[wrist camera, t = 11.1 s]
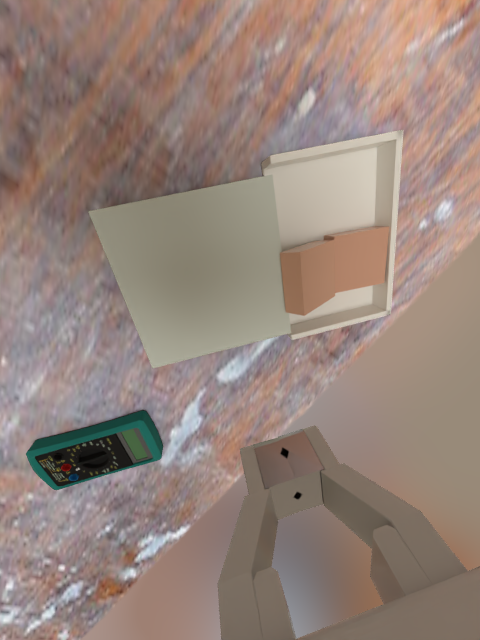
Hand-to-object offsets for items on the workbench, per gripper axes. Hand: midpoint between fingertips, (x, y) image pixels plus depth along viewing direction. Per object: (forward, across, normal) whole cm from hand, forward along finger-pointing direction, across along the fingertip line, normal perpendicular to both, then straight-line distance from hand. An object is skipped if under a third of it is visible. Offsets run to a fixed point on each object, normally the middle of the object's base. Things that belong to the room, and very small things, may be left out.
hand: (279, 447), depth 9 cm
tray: (+20, -13, -3) cm, 24 cm away
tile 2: (+17, -8, -1) cm, 19 cm away
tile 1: (+17, -15, -1) cm, 23 cm away
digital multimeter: (+21, +20, +16) cm, 33 cm away
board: (+20, +1, -3) cm, 20 cm away
